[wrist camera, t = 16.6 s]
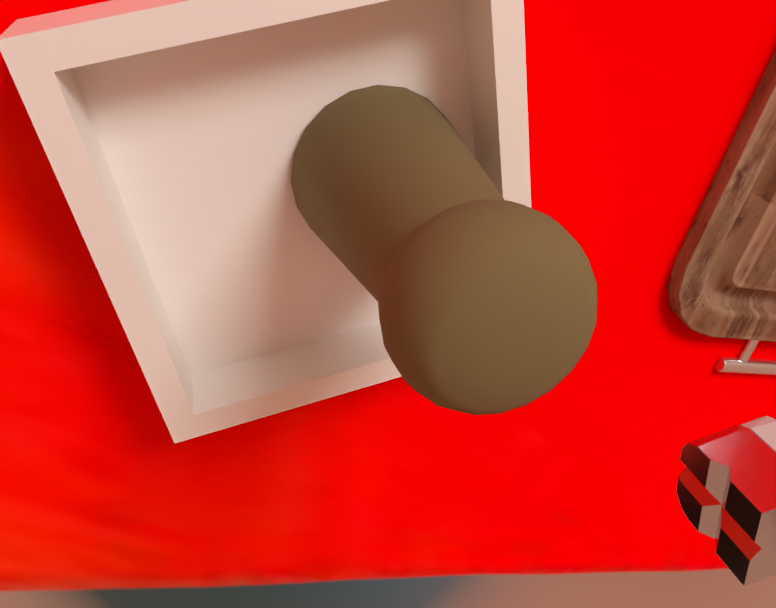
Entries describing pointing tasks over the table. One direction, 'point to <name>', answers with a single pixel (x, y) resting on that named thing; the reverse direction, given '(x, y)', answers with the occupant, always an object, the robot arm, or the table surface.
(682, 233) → the table surface
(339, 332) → the tray
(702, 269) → the chopping board
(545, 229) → the cork
